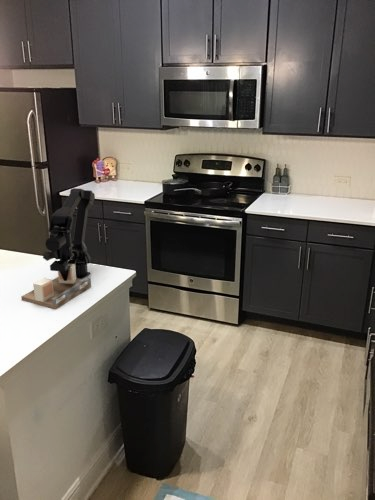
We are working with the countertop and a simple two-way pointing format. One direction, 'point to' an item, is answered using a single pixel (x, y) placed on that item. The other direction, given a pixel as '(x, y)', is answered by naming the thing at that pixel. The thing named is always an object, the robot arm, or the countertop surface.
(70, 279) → the askew carton
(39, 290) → the faced carton
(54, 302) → the brown tray
